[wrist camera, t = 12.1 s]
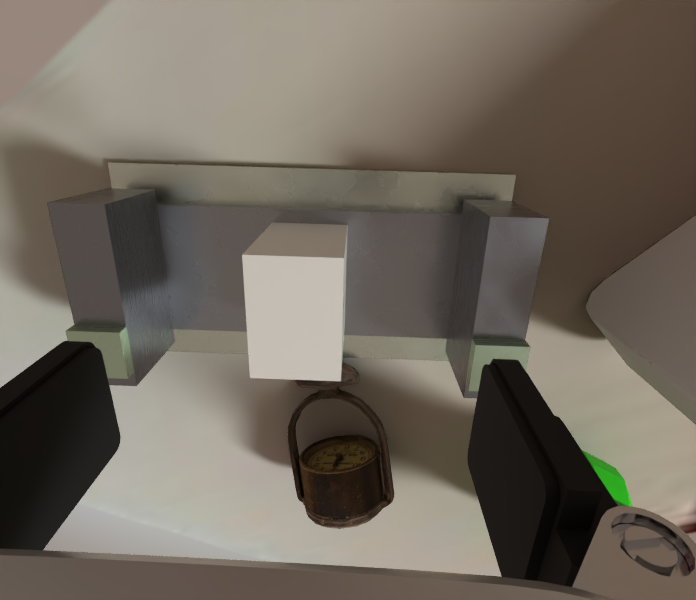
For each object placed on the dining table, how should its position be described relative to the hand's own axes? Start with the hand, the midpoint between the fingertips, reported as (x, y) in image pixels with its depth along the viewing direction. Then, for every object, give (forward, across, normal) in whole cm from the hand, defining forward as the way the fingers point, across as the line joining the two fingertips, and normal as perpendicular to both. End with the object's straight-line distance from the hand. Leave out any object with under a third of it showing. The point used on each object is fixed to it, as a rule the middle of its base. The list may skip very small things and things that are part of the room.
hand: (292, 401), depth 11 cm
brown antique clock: (+21, -1, +17) cm, 27 cm away
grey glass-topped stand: (+21, +2, +4) cm, 22 cm away
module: (+19, +2, +4) cm, 20 cm away
